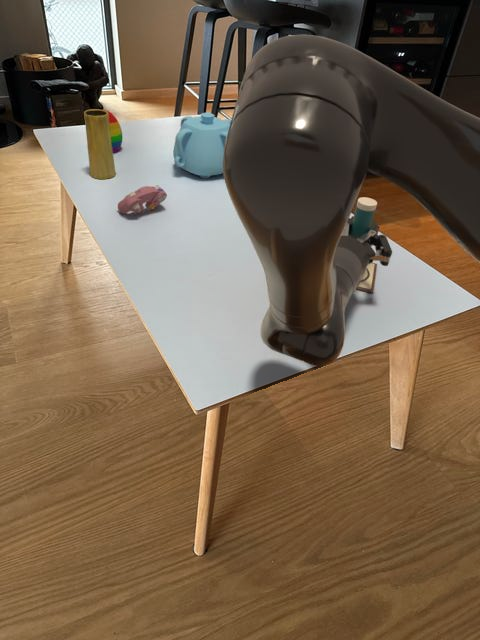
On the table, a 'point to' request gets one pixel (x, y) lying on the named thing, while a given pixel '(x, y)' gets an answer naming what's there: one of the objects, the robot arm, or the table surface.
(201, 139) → the decorative pot
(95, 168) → the vase
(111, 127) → the decorative egg
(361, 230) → the cylinder
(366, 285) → the board
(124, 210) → the video game controller
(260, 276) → the table surface
